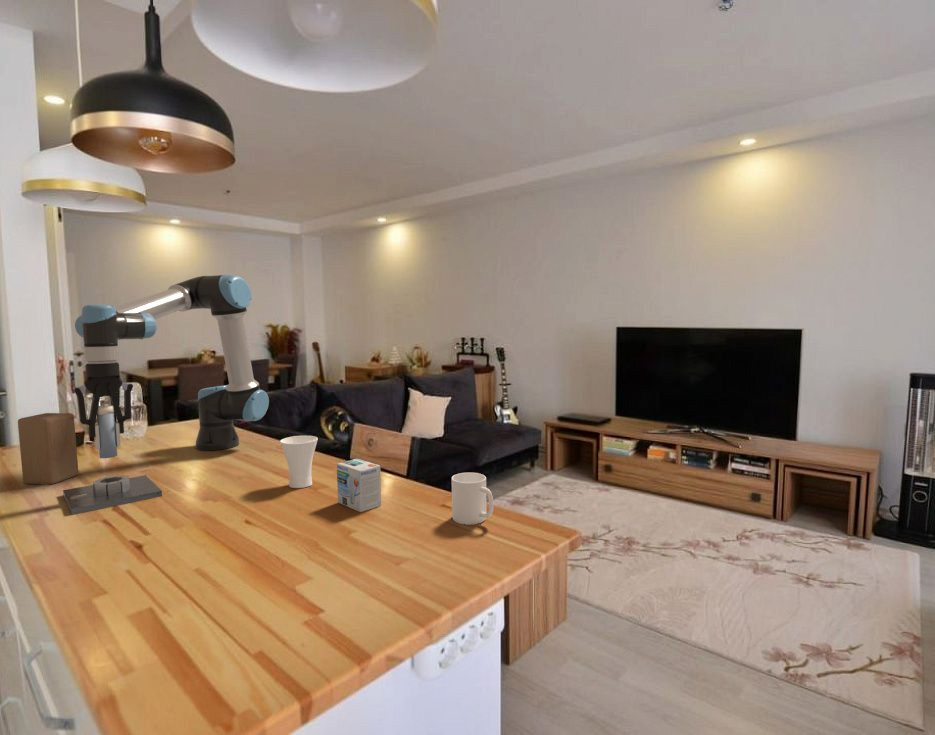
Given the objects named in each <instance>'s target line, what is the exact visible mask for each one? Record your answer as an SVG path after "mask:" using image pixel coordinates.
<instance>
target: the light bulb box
mask: <svg viewBox="0 0 935 735" xmlns="http://www.w3.org/2000/svg"><path fill="white" fill-rule="evenodd" d="M381 475H382V474H381V465H380V464H376V463H373V462H370V461H366V460H363V459H360V458H353V459H350V460H347V461H342V462H339V463H338V462H337V463H336V477H337V479H336V482H337V483H336V484H337V485H336V486H337V503H338V504H340V505H343V506H345V507H348V508H350V509H352V510H353V511H356V512H359V513H363V512H367V511H370V510H372V509H375V508H379V507H381V506H382V490H381V489H382V485H381V484H382V483H381V480H382V478H381Z"/></svg>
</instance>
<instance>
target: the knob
mask: <svg viewBox="0 0 935 735" xmlns="http://www.w3.org/2000/svg"><path fill="white" fill-rule="evenodd" d="M96 421H97V422H96V424H97V425H99V439H100V449H98V450H99V452H98V454H99V458H100V459H110V458H116V457H117V456H118V447H117V442H116V427H115V422H116V415H115V412H114V406H113V405H112V404H109V403H106V402H105V403H102V405H98V410H97V416H96Z"/></svg>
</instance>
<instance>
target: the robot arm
mask: <svg viewBox="0 0 935 735" xmlns="http://www.w3.org/2000/svg"><path fill="white" fill-rule="evenodd" d="M251 301H252V291H251V288H250V286H249V284H248V282H247V281H246V280H245V279H244V278H243V277H241V276H239V275H236V274H235V275H234V274H220V275H217V274H216V275H200V276H197V277H192V278H190V279H186V280H183V281H181V282H179V283H175V284H172V285H170V286H169V287H168V289H166V290H164V291H161V292H158V293H154V294H152V295H148V296H146V297H143V298H139V299H136V300H132V301H130V302H126V303H124V304H120V305H117V306H114V305H111V304H87V305H84V306H83V307H82V309H81V315H79V316H77V318H76V320H75V322H74V327H75V331H76V333H77V334H78V336H80V337H81V338H83V347H84V350H83V351H84V361H85V362H86V364H85V365H84V366H85V381H84V383H83V385H82V384H81V385H80V386H78V387H77V386H76V387H73V392H74V393H75V395H76V400H77V405H78V406H77V407H78V408H77V409H78V416H79V422H80V424H82V425H87V426H88V430H89V431H88V432H89V437H90V438H94V446H95V447H94V449H96V450H99V449H100V439H99V425H97V422H96V421H97V410H98V406H99V403H100V399H101V398H102V397H105V396H106V397H109V399H110V403H111V405H113V406H114V412H115V419H116V421H115V427H116V442H117V448H118V447H121V434H124V433H125V421H128V420H130V419H132V390H133V388H134V385H133V383H128V382H123V380H122V378H121V375H120V374H121V373H120V364H119V362H117V361H119V359H120V358H119V357H120V356H119V344H118V343H119V342H118V341H119V340H144V339H149V338H150V339H151V338H152V337H153V336H154V335H155V334H156V332H157V329H158V327H157V326H158V325H157V321H156V320H158V319H160V318H163V317H164V316H165V317H166V316H168V315H170V314H173V313H176V312H182V313H183V312H187V311H190V310H196V309H200V310H201V309H204V310H205V309H209V310H210V313H211V317H213V318H215V319H216V320H217V326H218V330H219V336H220V341H221V347H222V352H223V356H224V363H225V367H226V373H227V379H228V384H226V385H217V386H210V387H205V388H202V389H199V391H198V392H197V408H198V418H199V420H198V421H199V429H198V433H197V435H196V436H197V437H196V440H195V449H196V450H198V451H218V450H225V449H226V450H227V449H231V448H234V447H238V446H239V445H240V438H239V434H238V432H237V430H236V427H235V425H234V421H241V422H256V421H260V420H261V419H262V418H263V417H264V416H265V415H266V413H267V410H268V408H269V403H270V399H269V396H268V392H266V391H265V390H263V389H261V388H260V383H259V382H258V381H257V380H256V379H255V378H254V372H253V367H252V365H253V364H252V360H251V354H250V350H249V342H248V337H247V332H246V327H245V326H246V324H245V319H244V316H245V314H246V313H247V312H248V309H247V307H249V306H250V304H251ZM121 387H122V388H121ZM120 388H121V389H122V390H123V391H124V392H123V403H124V405H123V406H124V407H123V408H124V410H123V412H124V413H122V411H121V407H120V403H119V401H118V397H117V394H116V393H117V392H118V391H119V389H120ZM86 389H87V391H89V393H91V394H92V400H91V405H90V406H91V407H90V410H89V411H90V412H89V415H88V416H89V418H88V419H87V411H86V405H85V397H84V394H86Z"/></svg>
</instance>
